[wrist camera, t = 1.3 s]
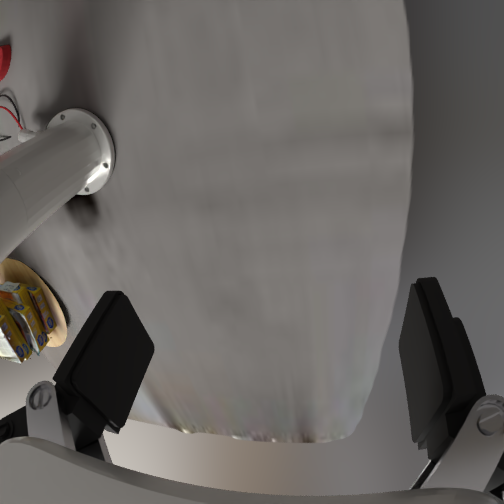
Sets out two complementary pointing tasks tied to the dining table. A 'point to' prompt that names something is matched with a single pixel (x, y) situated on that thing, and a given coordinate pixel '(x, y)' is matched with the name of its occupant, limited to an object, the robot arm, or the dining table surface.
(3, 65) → the digital clamp meter
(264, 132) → the dining table surface
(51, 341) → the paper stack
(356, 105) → the dining table surface
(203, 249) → the dining table surface
